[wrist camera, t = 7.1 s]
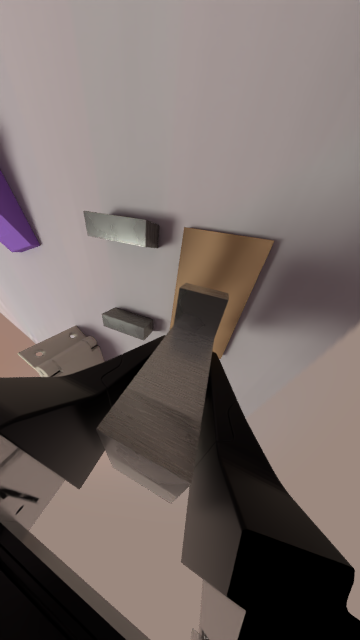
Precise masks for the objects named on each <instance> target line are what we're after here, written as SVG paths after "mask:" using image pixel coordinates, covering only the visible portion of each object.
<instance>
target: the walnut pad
mask: <svg viewBox="0 0 360 640" xmlns="http://www.w3.org/2000/svg"><path fill="white" fill-rule="evenodd" d="M273 243H274V241H272V240H266V239H259V238H252V237H246V236H239V235H233V234H226V233H219V232H213V231H206V230H200V229H193V228H186V227H184V233H183V240H182V247H181V254H180V261H179V268H178V275H177V282H176V289H175V296H174V304H173V311H172V318H171V325H170V329H171V328H172V327H173V325H174V320H175V313H176V307H177V300H178V294H179V288H180V287H181V286H182V285H184V284H185V283H189V284H193V285H197V286H201V287H205V288H209V289H214V290H218V291H222V292H226V293H229V301H228V303H227V306H226V309H225V311H224V314H223V317H222V319H221V322H220V325H219V327H218V330H217V333H216V335H215V338H214V344H213V350H212V352H215V353H217V355H218V358H219V359H221V357H222V355H223V353H224V351H225V348H226V346H227V344H228V342H229V340H230V337H231V335H232V333H233V331H234V329H235V326H236V324H237V322H238V320H239V318H240V315H241V313H242V311H243V309H244V307H245V304H246V302H247V300H248V298H249V296H250V293H251V291H252V289H253V287H254V285H255V282H256V280H257V278H258V276H259V274H260V271H261V269H262V267H263V265H264V263H265V260H266V258H267V256H268V254H269V252H270V249H271V247H272V245H273Z"/></svg>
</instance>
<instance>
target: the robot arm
mask: <svg viewBox="0 0 360 640" xmlns="http://www.w3.org/2000/svg"><path fill="white" fill-rule="evenodd" d="M165 336H166V335H164V336H161V337H159V338H157V339H155V340H153V341H150V342H148V343H146V344H144V345H142V346H139V347H137V348H135V349H133V350H131V351H128V352H126V353H124V354H123V355H119V356H117V357H115V358H113V359H110V360H108V361H105V362H103V363H100V364H97V365H95V366H92V367H89V368H86V369H84V370H81V371H78V372H75V373H72V374H69V375H65V376H59V377H19V378H18V377H16V378H15V377H13V378H0V640H150V639H149V638H148V637H147V636H146V635H144V634H143V633H142V632H141V631H140V630H139V629H138V628H137V627H135V626H134V625H133V624H132V623H131V622H130V621H129V620H128V619H127V618H125V617H124V616H123V615H122V614H121V613H120V612H119V611H118V610H116V609H115V608H114V607H113V606H112V605H111V604H110V603H108V601H106V600H105V599H104V598H103V597H102V596H101V595H100V594H98V593H97V592H96V591H95V590H94V589H93V588H92V587H91V586H89V585H88V584H87V583H86V582H85V581H84V580H83V579H82V578H81V577H79V576H78V575H77V574H76V573H75V572H74V571H73V570H72V569H71V568H69V567H68V566H67V565H66V564H65V563H64V562H63V561H62V560H60V559H59V558H58V557H57V556H56V555H55V554H54V553H53V552H51V551H50V550H49V549H48V548H47V547H46V546H44V544H42V543H41V542H40V541H39V540H38V539H37V538H36V537H34V535H32V534H31V533H30V532H29V530H30V529H31V527H32V526H33V524H34V523H35V522H36V520H37V519H38V517H39V516H40V515H41V513H42V512H43V510H44V509H45V508H46V506H47V505H48V503H49V502H50V501H51V499H52V498H53V496H54V495H55V494H56V492H57V491H58V489H59V488H60V487H61V485H62V484H63V482H64V481H65V480H66V481H68V482H69V483H70V484H72V485H74V486H75V487H77V488H78V489H80V488H81V487H82V485H83V484H84V482H85V480H86V479H87V477H88V476H89V474H90V473H91V471H92V470H93V468H94V466H95V465H96V463H97V462H98V460H99V459H100V457H101V456H102V454H103V452H104V451H105V448H104V446H103V444H102V442H101V439H100V437H99V435H98V433H97V430H96V428H97V427H98V425H99V424H100V423H101V421H102V420H103V419H104V417H105V416H106V415H107V413H108V412H109V411H110V409H111V408H112V407H113V405H114V404H115V403H116V401H117V400H118V399H119V397H120V396H121V395H122V393H123V392H124V391H125V389H126V388H127V387H128V385H129V384H130V383H131V381H132V380H133V379H134V377H135V376H136V375H137V373H138V372H139V371H140V369H141V368H142V367H143V365H144V364H145V363H146V361H147V360H148V359H149V357H150V356H151V355H152V353H153V352H154V351H155V349H156V348H157V347H158V345H159V344H160V343H161V341H162V340H163V339H164V337H165ZM181 562H182V563H183V564H184V565H185V566H186V567H188V568H189V569H190V570H192V571H193V572H194V573H196V574H197V575H198V576H200V577H201V578H202V579H203V584H202V597H201V611H200V624H199V633H198V632H197V631H195V630H194V629H192V635H191V640H360V620H358V619H357V618H355V617H354V616H353V615H351V614H350V613H349V612H348V610H347V607H346V605H347V599H348V596H349V593H350V591H351V588H352V585H353V583H354V572H355V570H354V568H353V567H352V566H351V565H350V564H349V562H348V561H347V560H346V559H345V558H344V557H343V556H342V555H341V553H340V552H339V551H338V550H337V549H336V548H335V546H334V545H333V544H332V543H331V542H330V541H329V540H328V538H327V537H326V536H325V535H324V534H323V533H322V532H321V531H320V529H319V528H318V527H317V526H316V525H315V524H314V522H313V521H312V520H311V519H310V518H309V517H308V516H307V514H306V513H305V512H304V511H303V510H302V509H301V508H300V506H298V504H297V503H296V502H295V501H294V500H293V498H292V497H291V496H290V495H289V494H288V492H287V491H286V490H285V488H284V487H283V485H282V484H281V482H280V481H279V479H278V478H277V476H276V474H275V473H274V471H273V469H272V467H271V466H270V464H269V462H268V460H267V458H266V456H265V454H264V453H263V451H262V449H261V447H260V445H259V443H258V441H257V440H256V438H255V436H254V434H253V432H252V430H251V428H250V427H249V425H248V423H247V421H246V419H245V416H244V414H243V412H242V410H241V408H240V406H239V403H238V401H237V399H236V396H235V394H234V392H233V390H232V387H231V385H230V383H229V380H228V378H227V376H226V374H225V371H224V369H223V367H222V365H221V362H220V360H219V358H218V355H217V353H215V352H212V357H211V363H210V370H209V376H208V382H207V389H206V395H205V402H204V408H203V414H202V421H201V427H200V434H199V440H198V446H197V453H196V459H195V466H194V472H193V478H192V484H191V485H190V488H189V497H188V506H187V514H186V523H185V533H184V541H183V550H182V559H181Z"/></svg>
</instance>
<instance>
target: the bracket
mask: <svg viewBox="0 0 360 640" xmlns="http://www.w3.org/2000/svg"><path fill="white" fill-rule="evenodd" d="M0 242H1V243H2V244H3V245H5V246H6V247H7V248H8V249H9V250H10V251H11V252H23V251H26V250H29V249H32V248H35V247H38V246H40V244H39V242H38V240H37V238H36V237H35V235H34V233H33V231H32V229H31V227H30V225H29V223H28V221H27V219H26V217H25V216H24V214H23V212H22V210H21V208H20V206H19V204H18V202H17V200H16V198H15V197H14V195H13V193H12V191H11V189H10V187H9V185H8V183H7V181H6V179H5V178H4V176H3V174H2V172H1V170H0Z"/></svg>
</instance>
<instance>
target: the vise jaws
mask: <svg viewBox="0 0 360 640" xmlns="http://www.w3.org/2000/svg"><path fill="white" fill-rule="evenodd" d="M84 217H85V222H86V228H87V234H88V236H92V237H97V238H102V239H107V240H112V241H117V242H122V243H127V244H132V245H137V246H142V247H151V248H158V237H159V225H157V224H154V223H152V222H149V221H147V220H143V219H136V218H129V217H122V216H116V215H109V214H102V213H96V212H89V211H84ZM102 318H103V323H104V326H106V327H108V328H111V329H114V330H117V331H119V332H122V333H125V334H128V335H130V336H133V337H136V338H139V339H141V340H145V339H146V338H147V337H148V336H149V335H150V334H151V333H152V331H153V322H154V320H152V319H149V318H146V317H143V316H140V315H137V314H134V313H131V312H128V311H124V310H121V309H118V308H113V309H111V310H109V311H107V312H105V313H103V314H102Z"/></svg>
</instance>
